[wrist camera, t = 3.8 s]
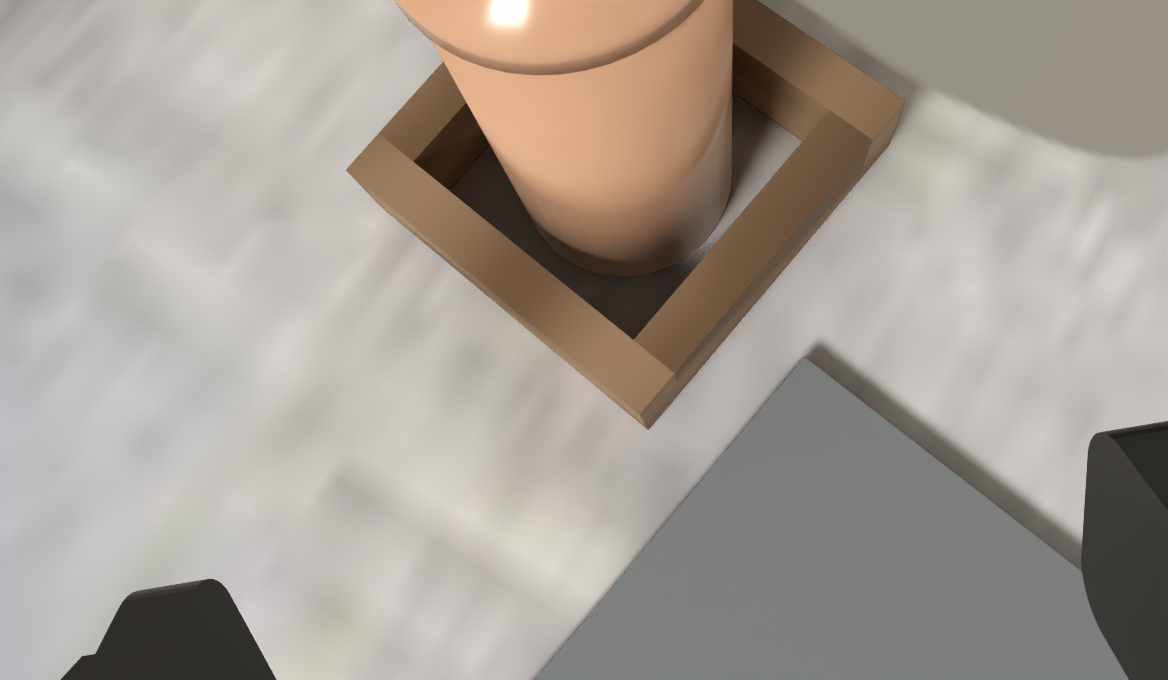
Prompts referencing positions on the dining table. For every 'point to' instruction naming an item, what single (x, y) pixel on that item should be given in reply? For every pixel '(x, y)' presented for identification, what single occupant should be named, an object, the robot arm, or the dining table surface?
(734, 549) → the slate mat
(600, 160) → the peach column
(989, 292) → the dining table surface
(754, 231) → the walnut collar
